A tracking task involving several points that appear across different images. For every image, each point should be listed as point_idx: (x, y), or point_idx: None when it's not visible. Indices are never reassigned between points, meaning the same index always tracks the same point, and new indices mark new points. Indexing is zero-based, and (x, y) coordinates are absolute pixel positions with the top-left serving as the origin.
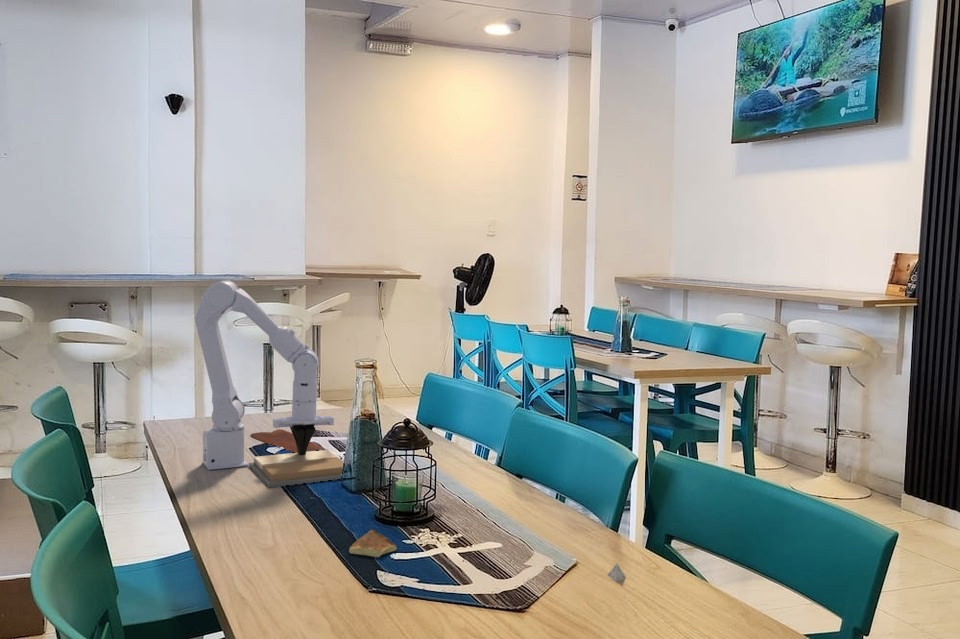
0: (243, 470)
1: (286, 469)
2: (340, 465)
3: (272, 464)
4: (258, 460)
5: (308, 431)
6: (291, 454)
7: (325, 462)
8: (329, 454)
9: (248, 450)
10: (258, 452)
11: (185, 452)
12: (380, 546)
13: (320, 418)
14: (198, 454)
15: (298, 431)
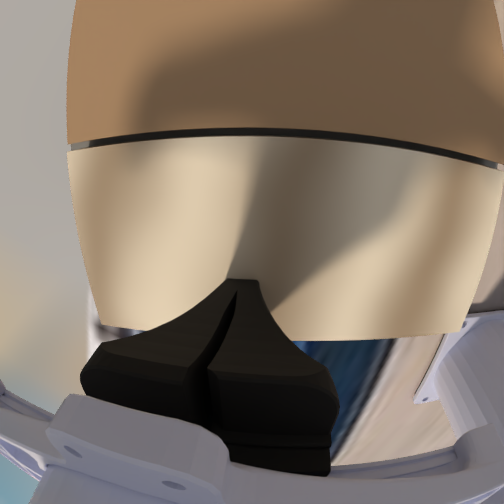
0: (486, 271)
1: (431, 17)
2: None
3: (470, 154)
4: (483, 263)
5: (164, 358)
6: (299, 317)
7: (157, 51)
8: (94, 229)
9: (345, 451)
10: (332, 438)
11: (454, 443)
12: None
13: (28, 459)
14: (450, 433)
15: (302, 374)
